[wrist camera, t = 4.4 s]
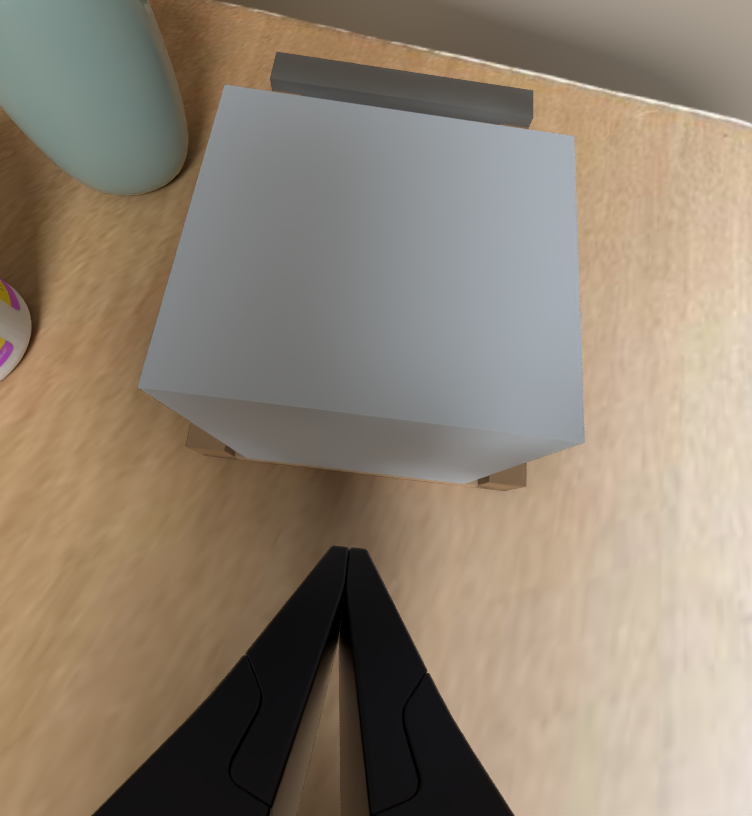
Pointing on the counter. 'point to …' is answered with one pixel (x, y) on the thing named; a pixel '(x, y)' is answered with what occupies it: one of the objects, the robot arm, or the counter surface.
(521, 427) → the block
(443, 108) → the chute
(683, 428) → the counter surface
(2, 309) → the supplement bottle
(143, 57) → the cup
